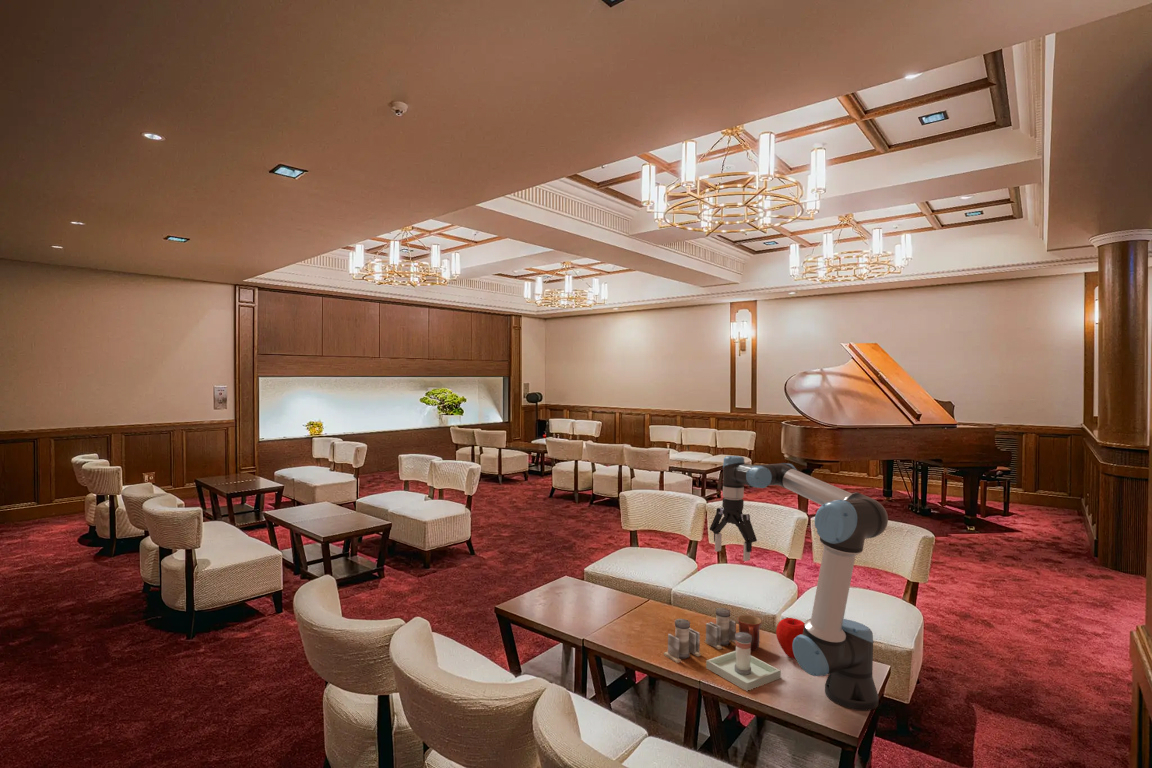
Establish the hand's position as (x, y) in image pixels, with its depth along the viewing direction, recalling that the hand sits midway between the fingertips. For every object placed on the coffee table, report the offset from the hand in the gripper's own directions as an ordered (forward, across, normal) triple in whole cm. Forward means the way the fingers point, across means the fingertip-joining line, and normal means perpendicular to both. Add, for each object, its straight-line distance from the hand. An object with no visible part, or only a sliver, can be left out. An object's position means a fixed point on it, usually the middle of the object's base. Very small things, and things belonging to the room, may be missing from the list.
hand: (731, 555), depth 208 cm
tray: (+35, -14, +10) cm, 39 cm away
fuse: (+34, -14, +10) cm, 38 cm away
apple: (+35, -15, -16) cm, 41 cm away
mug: (+35, -3, -7) cm, 36 cm away
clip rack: (+35, +6, +8) cm, 36 cm away
